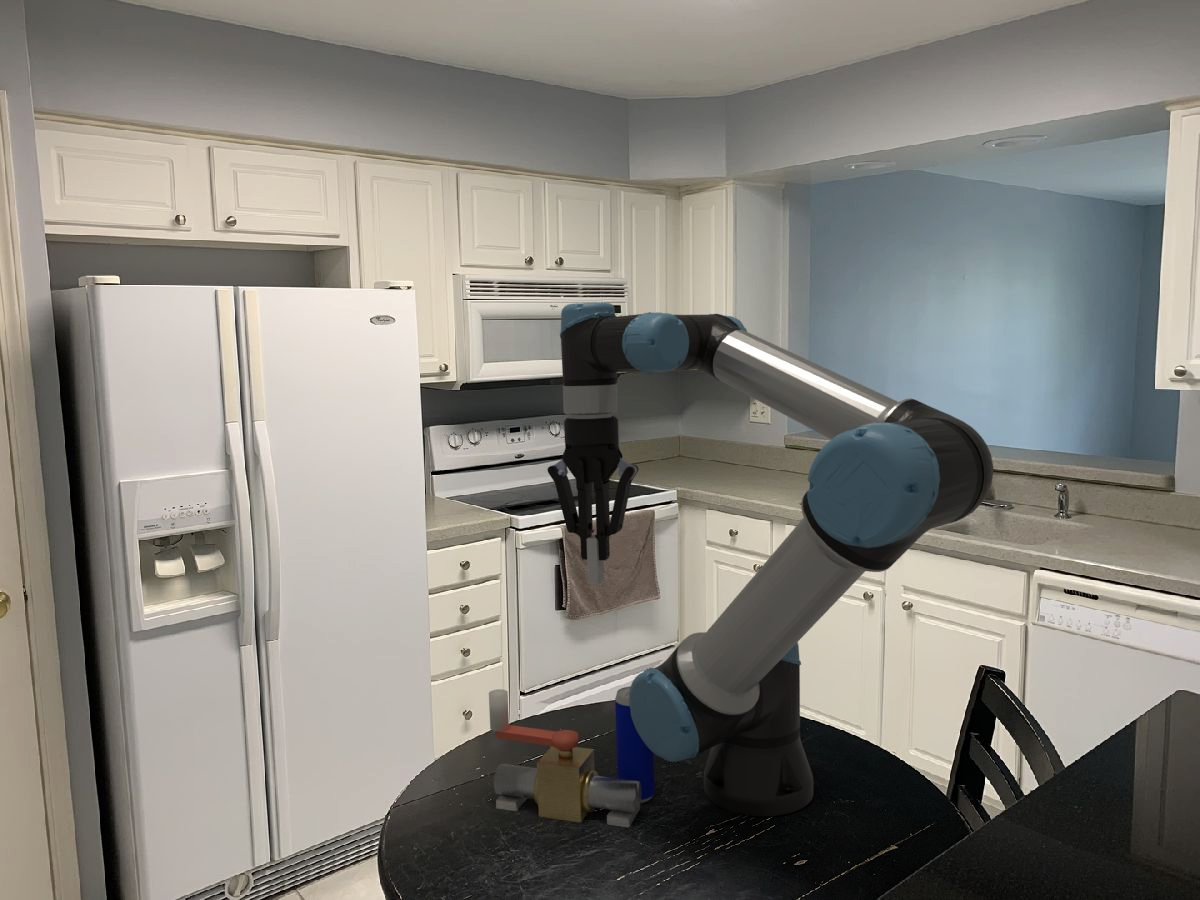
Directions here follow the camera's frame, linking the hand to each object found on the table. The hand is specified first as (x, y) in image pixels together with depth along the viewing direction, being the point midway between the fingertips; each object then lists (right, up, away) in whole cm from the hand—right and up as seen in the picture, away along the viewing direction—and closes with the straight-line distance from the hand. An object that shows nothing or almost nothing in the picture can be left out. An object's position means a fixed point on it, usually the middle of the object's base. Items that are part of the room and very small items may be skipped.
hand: (596, 582), depth 129 cm
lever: (-9, -21, -4) cm, 23 cm away
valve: (-4, -30, -5) cm, 31 cm away
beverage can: (+6, -30, -2) cm, 30 cm away
